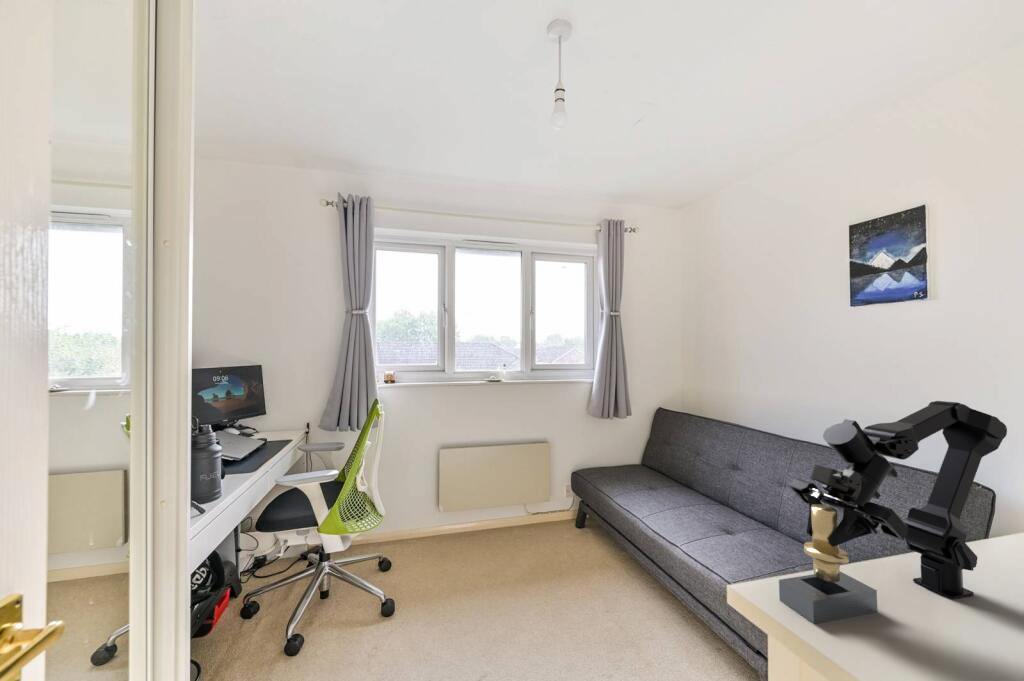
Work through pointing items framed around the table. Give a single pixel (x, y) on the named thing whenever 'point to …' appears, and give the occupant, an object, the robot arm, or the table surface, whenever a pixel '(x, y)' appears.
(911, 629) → the table surface
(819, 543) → the brass pin
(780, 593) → the steel hitch block
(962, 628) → the table surface
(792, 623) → the table surface
